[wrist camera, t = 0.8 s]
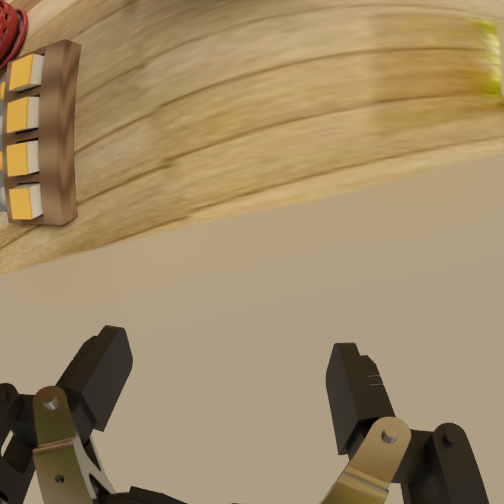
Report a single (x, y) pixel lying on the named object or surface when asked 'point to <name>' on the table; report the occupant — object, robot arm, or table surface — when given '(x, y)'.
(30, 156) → the button
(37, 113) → the button
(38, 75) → the button
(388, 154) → the table surface
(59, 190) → the board
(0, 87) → the card
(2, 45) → the plant pot
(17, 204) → the button
